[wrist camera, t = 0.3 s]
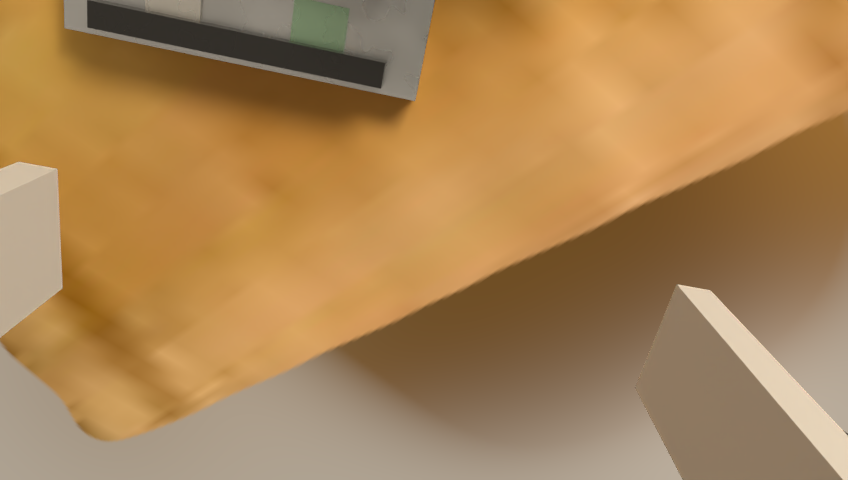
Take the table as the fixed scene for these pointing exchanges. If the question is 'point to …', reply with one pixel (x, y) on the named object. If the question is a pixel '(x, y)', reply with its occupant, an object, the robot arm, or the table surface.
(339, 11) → the breaker panel
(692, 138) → the table surface
